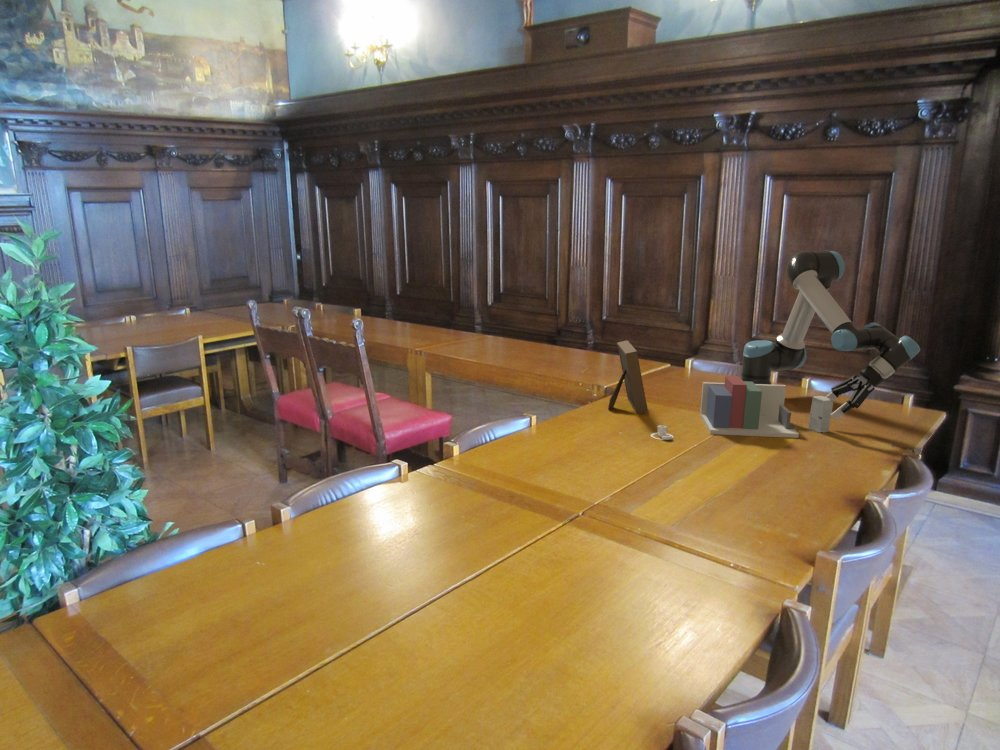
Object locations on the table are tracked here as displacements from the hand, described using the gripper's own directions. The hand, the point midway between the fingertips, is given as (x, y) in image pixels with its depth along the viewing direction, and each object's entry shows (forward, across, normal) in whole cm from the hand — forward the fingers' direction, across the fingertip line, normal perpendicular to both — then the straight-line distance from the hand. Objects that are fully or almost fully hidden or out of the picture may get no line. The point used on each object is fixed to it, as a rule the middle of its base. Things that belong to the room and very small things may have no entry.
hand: (826, 411), depth 240 cm
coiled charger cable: (+48, -16, +38) cm, 63 cm away
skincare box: (+6, +1, -4) cm, 8 cm away
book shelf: (+24, +1, +14) cm, 28 cm away
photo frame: (+54, +23, +44) cm, 74 cm away
